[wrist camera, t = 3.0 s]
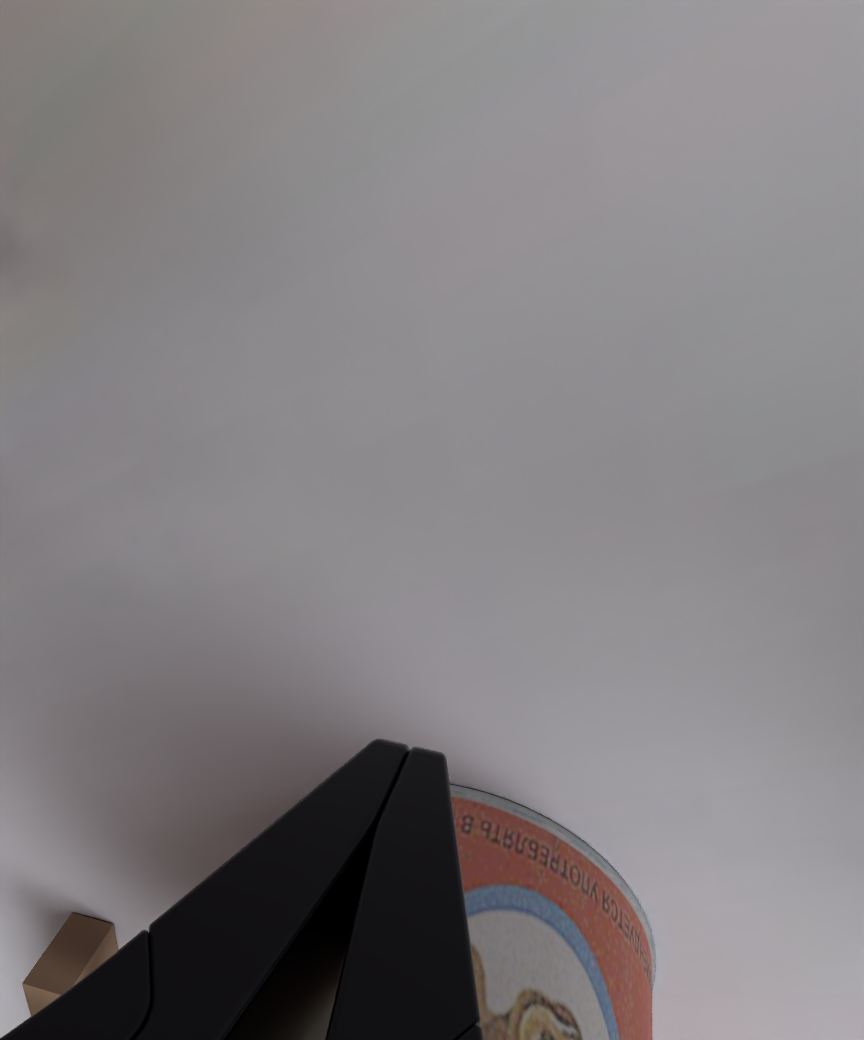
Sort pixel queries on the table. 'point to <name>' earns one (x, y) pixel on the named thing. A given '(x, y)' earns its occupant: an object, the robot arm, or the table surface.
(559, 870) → the canned food
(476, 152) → the table surface
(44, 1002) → the display stand
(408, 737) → the table surface
